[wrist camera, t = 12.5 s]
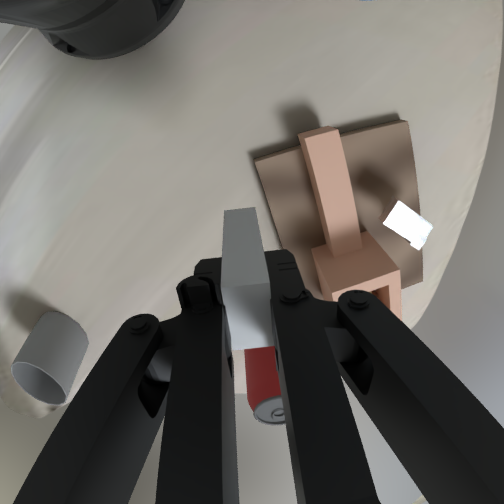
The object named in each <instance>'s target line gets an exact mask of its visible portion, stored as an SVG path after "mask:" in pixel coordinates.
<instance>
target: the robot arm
mask: <svg viewBox="0 0 504 504" xmlns="http://www.w3.org/2000/svg"><path fill="white" fill-rule="evenodd" d="M184 1H185V0H0V22H1V23H8V24H14V25H20V26H26V27H31V28H37V29H39V31H40V32H41V33H42V34H43V35H44V36H45V37H46V39H47V40H48V41H49V42H50V43H51V44H52V45H53V46H54V47H55V48H57V49H58V50H60V51H62V52H64V53H66V54H68V55H71V56H75V57H81V58H86V59H107V58H113V57H117V56H120V55H124V54H126V53H129V52H131V51H133V50H136V49H137V48H139V47H141V46H143V45H145V44H146V43H148V42H149V41H151V40H152V39H153V38H155V37H156V36H157V35H158V34H160V33H161V32H162V31H163V30H164V29H165V28H166V27H167V26H168V25H169V24H170V23H171V21H172V20H173V19H174V18H175V16H176V15H177V13H178V12H179V10H180V9H181V7H182V5H183V3H184ZM362 1H371V0H362ZM176 290H177V294H178V297H179V301H180V305H181V308H182V311H181V314H180V315H178V316H176V317H174V318H171V319H168V320H165V321H162V322H159V320H158V318H156V317H155V316H154V315H151V314H139V315H136V316H133V317H131V318H129V319H128V320H126V321H125V322H124V323H123V324H122V326H121V327H120V329H119V330H118V332H117V333H116V334H115V336H114V337H113V339H112V340H111V342H110V343H109V345H108V346H107V348H106V349H105V351H104V352H103V354H102V355H101V357H100V358H99V360H98V361H97V363H96V364H95V366H94V367H93V369H92V370H91V372H90V373H89V375H88V376H87V378H86V379H85V381H84V382H83V384H82V386H81V387H80V389H79V390H78V392H77V393H76V395H75V397H74V398H73V400H72V401H71V403H70V404H69V406H68V408H67V409H66V411H65V413H64V414H63V416H62V418H61V419H60V421H59V423H58V424H57V426H56V427H55V429H54V431H53V432H52V434H51V436H50V438H49V439H48V441H47V443H46V444H45V446H44V448H43V450H42V451H41V453H40V455H39V456H38V458H37V460H36V462H35V464H34V465H33V467H32V469H31V471H30V473H29V474H28V476H27V478H26V480H25V482H24V484H23V486H22V487H21V489H20V491H19V493H18V495H17V497H16V499H15V501H14V503H13V504H128V502H129V500H130V497H131V495H132V492H133V490H134V487H135V485H136V482H137V480H138V478H139V475H140V473H141V470H142V468H143V466H144V463H145V461H146V458H147V456H148V454H149V451H150V449H151V446H152V444H153V442H154V439H155V437H156V435H157V432H158V430H159V427H160V425H161V423H162V420H163V418H164V416H165V418H164V426H163V435H162V442H161V452H160V461H159V469H158V479H157V491H156V502H155V504H239V488H238V470H237V469H238V468H237V446H236V424H235V397H234V396H235V395H234V364H233V357H232V352H231V346H232V350H241V349H251V348H260V347H269V346H275V359H276V371H278V377H279V384H280V390H281V397H282V403H283V410H284V416H285V423H286V429H287V436H288V442H289V449H290V455H291V463H292V469H293V476H294V483H295V489H296V496H297V503H298V504H381V503H380V501H379V499H378V497H377V493H376V490H375V486H374V483H373V479H372V476H371V472H370V469H369V465H368V462H367V458H366V456H365V452H364V449H363V445H362V442H361V438H360V435H359V432H358V429H357V425H356V422H355V419H354V416H353V413H352V409H351V406H350V404H349V400H348V397H347V394H346V391H345V388H344V385H343V382H342V378H343V379H344V381H345V382H346V384H347V385H348V387H349V388H350V389H351V391H352V392H353V394H354V395H355V397H356V398H357V399H358V401H359V403H360V404H361V405H362V407H363V408H364V410H365V411H366V413H367V414H368V416H369V417H370V418H371V420H372V421H373V423H374V424H375V425H376V427H377V429H378V430H379V431H380V433H381V434H382V436H383V437H384V439H385V440H386V442H387V443H388V445H389V446H390V447H391V449H392V450H393V452H394V453H395V455H396V456H397V458H398V459H399V461H400V462H401V463H402V465H403V466H404V468H405V469H406V470H407V472H408V474H409V475H410V476H411V478H412V479H413V481H414V482H415V484H416V485H417V486H418V488H419V490H420V491H421V493H422V494H423V495H424V497H425V498H426V500H427V501H428V503H429V504H504V428H503V427H502V426H501V425H500V424H499V423H498V422H497V420H496V419H495V418H494V417H493V416H492V415H491V414H490V413H489V411H488V410H487V409H486V408H485V407H484V406H483V405H482V404H481V403H480V401H479V400H478V399H477V398H476V397H475V396H474V395H473V394H472V393H471V392H470V391H469V390H468V389H467V387H466V386H465V385H464V384H463V383H462V382H461V381H460V380H459V379H458V378H457V377H456V376H455V375H454V374H453V373H452V372H451V371H450V369H449V368H448V367H447V366H446V365H445V364H444V363H443V362H442V361H441V360H440V359H439V358H438V357H437V356H436V355H435V354H434V353H433V352H432V351H431V350H430V349H429V348H428V347H427V346H426V345H425V344H424V343H423V342H422V341H421V340H420V339H419V338H418V337H417V336H416V335H415V334H414V333H413V332H412V331H411V330H410V329H409V328H408V327H407V326H406V325H405V324H404V323H403V322H402V321H401V320H400V319H399V318H398V317H397V316H396V315H395V314H394V313H393V312H392V311H391V310H390V309H389V308H388V307H386V306H385V305H384V304H383V303H382V302H381V301H380V300H379V299H378V298H377V297H376V296H375V295H373V294H372V293H370V292H367V291H364V290H349V291H346V292H344V293H342V294H341V295H340V296H339V298H338V302H336V301H325V300H320V299H317V298H315V297H313V295H312V293H311V292H310V291H309V290H308V289H306V288H305V285H304V282H303V280H302V277H301V274H300V271H299V269H298V266H297V263H296V260H295V257H294V255H293V254H292V253H291V252H290V251H288V250H287V249H283V250H274V251H265V252H264V250H263V245H262V240H261V235H260V230H259V225H258V220H257V215H256V210H255V207H252V208H243V209H234V210H226V211H224V225H223V245H222V257H220V258H211V259H202V260H200V261H199V263H198V264H197V265H196V266H195V270H194V275H193V276H190V277H188V278H186V279H184V280H182V281H181V282H180V283H179V284H178V285H177V287H176ZM341 376H342V378H341Z"/></svg>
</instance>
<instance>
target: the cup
mask: <svg viewBox="0 0 504 504" xmlns="http://www.w3.org/2000/svg"><path fill="white" fill-rule="evenodd" d="M88 344H89V341H88V338H87V334H86V332H85V331H84V330H83V328H82V327H81V326H80V324H79V323H77V322H76V321H75V320H73V319H72V318H71V317H69V316H68V315H65V314H62V313H59V312H57V311H55V312H46V313H45V314H44V315H42V316H41V317H40V319H39V320H38V322H37V323H36V325H35V327H34V328H33V330H32V331H31V333H30V335H29V336H28V338H27V340H26V341H25V343H24V345H23V346H22V348H21V350H20V351H19V353H18V355H17V356H16V358H15V360H14V362H13V363H12V365H11V373H12V375H13V377H14V379H15V381H16V382H17V383H18V385H19V386H20V387H21V388H22V389H23V390H24V391H25V392H27V393H28V394H30V395H31V396H32V397H34V398H35V399H37V400H39V401H42V402H44V403H47V404H51V405H61V404H64V403H66V400H67V397H68V395H69V392H70V389H71V387H72V384H73V382H74V379H75V377H76V374H77V372H78V369H79V367H80V365H81V362H82V360H83V357H84V355H85V353H86V350H87V347H88Z"/></svg>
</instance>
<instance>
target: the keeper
mask: <svg viewBox="0 0 504 504" xmlns="http://www.w3.org/2000/svg"><path fill="white" fill-rule="evenodd" d="M378 219H379V220H380V221H381V222H382V223H383V224H385V225H386V226H388V227H390V228H391V229H393V230H394V231H396V232H397V233H399V234H400V235H401V236H402V237H403V238H404V239H405V240H406V241H407V242H408V243H409V244H410V245H412V246H413V247H415V248H416V249H418V250H420V248H421V247H422V246H423V244H424V243H425V241H426V240H427V238H426V237H427V235H428V234H429V232H430V231H431V229H432V228H433V225H431V224H430V223H429V222H428V221H426V220H425V219H424V218H422V217H421V216H420V215H418V214H417V213H416V212H414V211H413V210H412V209H410V208H409V207H407V206H406V205H405V204H403V203H402V202H400V201H399V200H398V199H396V198H395V197H393V196H392V198H391V199H390V201H389V203H388V204H387V206H386V207H385V209H384V210H383V212H382V213H381V215H380V216H379V218H378Z"/></svg>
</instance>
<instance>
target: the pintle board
mask: <svg viewBox="0 0 504 504" xmlns="http://www.w3.org/2000/svg"><path fill="white" fill-rule="evenodd" d="M339 135H340V139H341V143H342V147H343V151H344V155H345V159H346V164H347V168H348V173H349V177H350V182H351V187H352V192H353V197H354V202H355V207H356V212H357V218H358V223H359V229H360V233H362V232H365V231H368V232H369V233H370V235H371V236H372V237H373V238H374V239H375V240H376V241H377V243H378V244H379V245H380V246H381V247H382V248H383V250H384V251H385V252H386V253H387V254H388V256H389V257H390V258H391V259H392V260H393V262H394V263H395V264H396V265H397V266H398V268H399V269H400V278H401V289H404V288H406V287H409V286H411V285H414V284H417V283H419V282H422V281H423V257H422V247H421V248H420V250H418V249H416V248H415V247H413V246H412V245H410V244H409V243H408V242H407V241H406V240H405V239H404V238H403V237H402V236H401V235H400V234H399V233H397V232H396V231H394V230H393V229H391V228H390V227H388V226H386V225H385V224H383V223H382V222H381V221H380V220H379V219H378V218H379V216H380V215H381V213H382V212H383V210H384V209H385V207H386V206H387V204H388V203H389V201H390V199H391V198H392V196H393V197H395V198H396V199H398V200H399V201H400V202H402V203H403V204H405V205H406V206H407V207H409V208H410V209H412V210H413V211H414V212H416V213H417V214H418V215H420V205H419V194H418V185H417V177H416V169H415V162H414V155H413V148H412V142H411V136H410V131H409V125H408V121H404V120H397V121H392V122H388V123H383V124H379V125H375V126H370V127H366V128H362V129H358V130H354V131H350V132H346V133H342V134H339ZM254 161H255V164H256V167H257V170H258V173H259V176H260V179H261V182H262V185H263V188H264V192H265V195H266V198H267V201H268V204H269V207H270V210H271V213H272V216H273V219H274V222H275V225H276V229H277V232H278V235H279V238H280V241H281V244H282V247H283V249H287V250H288V251H290V252H291V253H292V254H293V255H294V257H295V260H296V263H297V266H298V269H299V271H300V274H301V277H302V280H303V282H304V285H305V288H306V289H308V290H309V291H310V292H311V293H312V295H313V297H315V298H317V299H320V300H324V297H323V295H322V290H321V286H320V282H319V278H318V274H317V270H316V266H315V262H314V258H313V254H312V251H311V249H312V248H315V247H318V246H321V245H325V244H326V240H325V236H324V232H323V227H322V223H321V219H320V215H319V211H318V207H317V203H316V199H315V195H314V192H313V188H312V184H311V180H310V176H309V173H308V169H307V166H306V162H305V158H304V155H303V151H302V148H301V145H298V146H295V147H291V148H288V149H285V150H281V151H278V152H275V153H272V154H268V155H265V156H262V157H259V158H256V159H254ZM370 293H372V292H371V291H370Z"/></svg>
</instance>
